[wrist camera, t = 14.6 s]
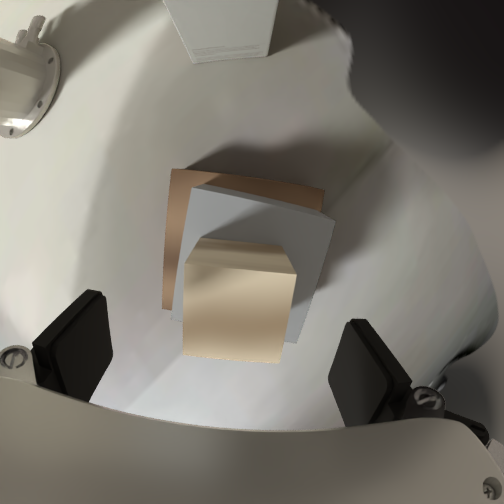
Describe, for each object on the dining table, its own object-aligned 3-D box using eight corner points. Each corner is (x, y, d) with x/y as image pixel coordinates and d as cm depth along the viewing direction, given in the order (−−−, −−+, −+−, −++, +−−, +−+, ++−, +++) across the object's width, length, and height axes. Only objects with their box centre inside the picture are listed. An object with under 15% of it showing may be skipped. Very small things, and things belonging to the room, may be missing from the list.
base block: (185, 169, 25) (171, 168, 21) (310, 186, 26) (324, 190, 21) (174, 286, 29) (162, 308, 24) (288, 301, 29) (296, 325, 25)
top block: (203, 183, 21) (191, 187, 16) (316, 210, 22) (336, 220, 17) (184, 290, 23) (170, 319, 19) (287, 311, 24) (296, 343, 19)
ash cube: (200, 237, 17) (184, 263, 12) (281, 245, 17) (296, 274, 13) (196, 310, 18) (182, 354, 14) (270, 317, 19) (279, 363, 14)
